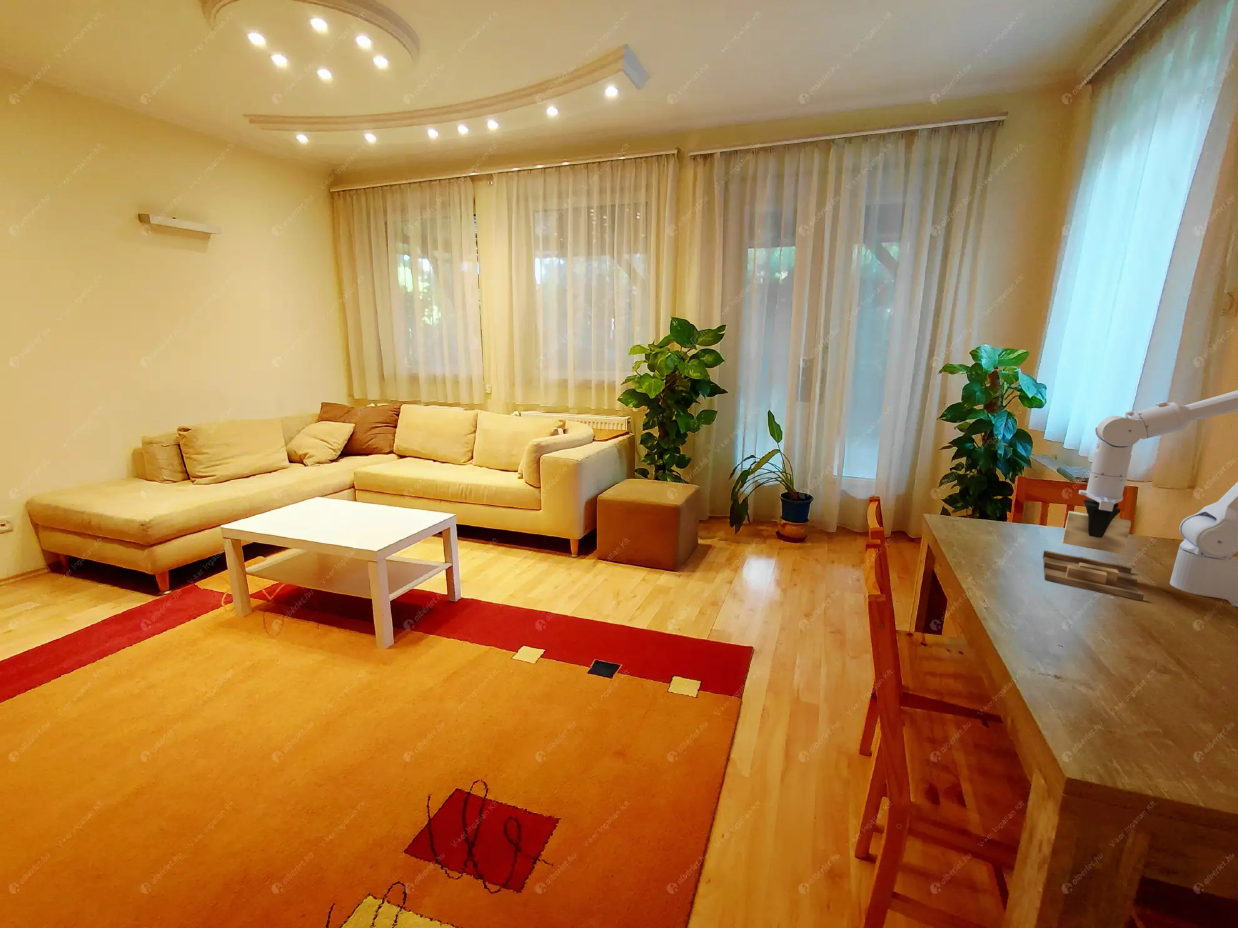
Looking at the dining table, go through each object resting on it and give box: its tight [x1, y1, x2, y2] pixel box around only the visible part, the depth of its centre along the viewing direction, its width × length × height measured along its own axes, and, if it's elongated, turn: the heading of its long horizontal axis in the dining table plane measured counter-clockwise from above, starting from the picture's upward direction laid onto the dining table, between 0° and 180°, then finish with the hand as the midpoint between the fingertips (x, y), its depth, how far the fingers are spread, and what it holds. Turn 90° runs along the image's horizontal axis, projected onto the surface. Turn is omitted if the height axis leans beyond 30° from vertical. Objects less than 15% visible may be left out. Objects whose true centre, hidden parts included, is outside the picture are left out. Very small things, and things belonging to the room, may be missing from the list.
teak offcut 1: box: [1066, 565, 1107, 585], centre depth 110 cm, size 6×2×3 cm, turn 53°
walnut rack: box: [1042, 550, 1145, 602], centre depth 115 cm, size 15×17×2 cm
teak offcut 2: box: [1078, 562, 1118, 586], centre depth 112 cm, size 6×2×3 cm, turn 53°
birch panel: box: [1062, 510, 1132, 555], centre depth 116 cm, size 10×2×7 cm, turn 53°
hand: (1094, 534), depth 116 cm, fingers closed on birch panel, 2 cm apart
